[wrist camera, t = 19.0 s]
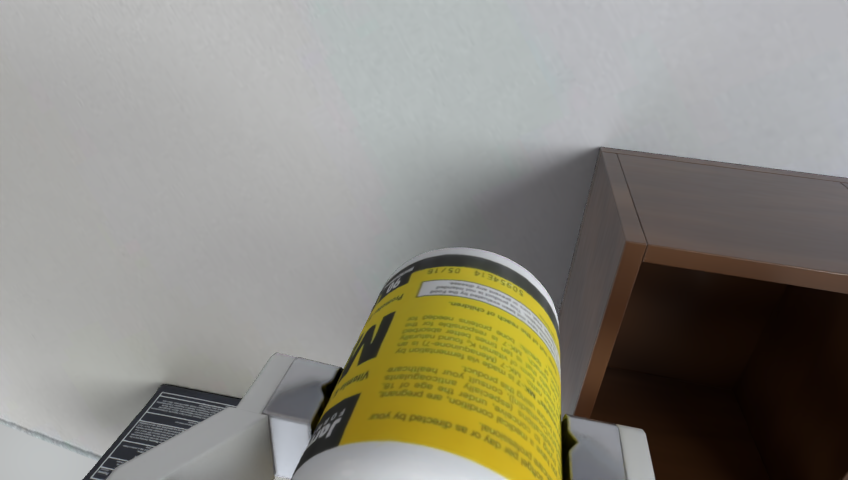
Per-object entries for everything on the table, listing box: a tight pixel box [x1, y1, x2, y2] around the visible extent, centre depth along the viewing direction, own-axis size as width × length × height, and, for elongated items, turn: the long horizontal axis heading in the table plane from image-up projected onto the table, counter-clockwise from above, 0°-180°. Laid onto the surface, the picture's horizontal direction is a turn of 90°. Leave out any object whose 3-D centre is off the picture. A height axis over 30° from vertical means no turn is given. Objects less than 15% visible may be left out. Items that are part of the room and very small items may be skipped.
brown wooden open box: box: [558, 147, 848, 480], centre depth 27 cm, size 16×13×11 cm
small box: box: [82, 384, 241, 480], centre depth 43 cm, size 11×6×10 cm, turn 88°
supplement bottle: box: [291, 247, 563, 480], centre depth 10 cm, size 5×5×8 cm
